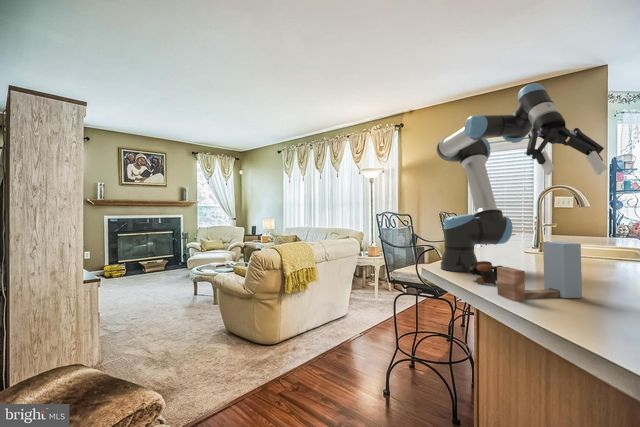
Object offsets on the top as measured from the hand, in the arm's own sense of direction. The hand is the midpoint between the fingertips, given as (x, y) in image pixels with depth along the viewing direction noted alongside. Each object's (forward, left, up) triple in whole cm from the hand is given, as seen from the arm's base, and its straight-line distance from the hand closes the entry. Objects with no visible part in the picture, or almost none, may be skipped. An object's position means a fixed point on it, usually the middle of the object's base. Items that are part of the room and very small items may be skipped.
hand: (576, 171), depth 83 cm
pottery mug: (-26, -2, -35) cm, 44 cm away
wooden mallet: (-6, -6, -35) cm, 36 cm away
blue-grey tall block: (-4, 0, -35) cm, 35 cm away
